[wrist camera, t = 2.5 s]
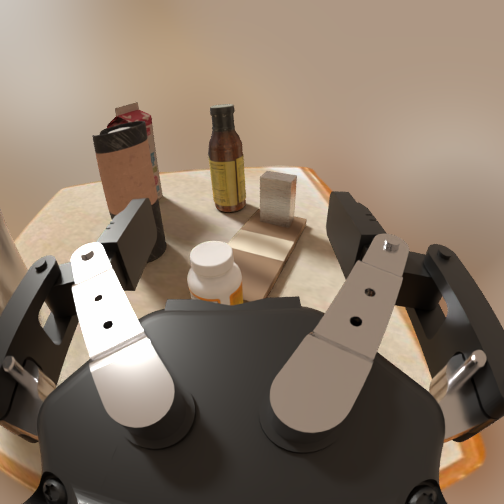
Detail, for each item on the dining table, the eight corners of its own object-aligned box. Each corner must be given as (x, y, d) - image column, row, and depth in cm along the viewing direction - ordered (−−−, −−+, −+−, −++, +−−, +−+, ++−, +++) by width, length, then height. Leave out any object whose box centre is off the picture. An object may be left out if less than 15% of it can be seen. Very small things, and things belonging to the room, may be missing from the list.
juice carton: (123, 206, 55) (104, 110, 41) (141, 193, 60) (126, 104, 46) (145, 209, 53) (127, 105, 40) (162, 195, 58) (149, 100, 45)
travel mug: (176, 249, 42) (155, 121, 30) (135, 272, 37) (100, 137, 25) (153, 231, 46) (133, 120, 34) (117, 251, 41) (86, 135, 29)
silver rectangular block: (288, 227, 44) (291, 182, 39) (260, 221, 45) (260, 177, 41) (293, 219, 46) (296, 175, 41) (266, 213, 48) (267, 171, 43)
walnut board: (259, 311, 31) (259, 304, 31) (194, 289, 34) (193, 282, 34) (305, 225, 47) (306, 219, 46) (258, 214, 50) (258, 209, 49)
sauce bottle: (235, 196, 56) (232, 102, 44) (252, 208, 52) (250, 104, 40) (207, 205, 53) (199, 106, 41) (222, 217, 49) (214, 108, 37)
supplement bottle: (233, 297, 33) (227, 230, 27) (252, 328, 29) (250, 260, 24) (191, 311, 31) (176, 244, 26) (206, 345, 28) (190, 279, 22)
